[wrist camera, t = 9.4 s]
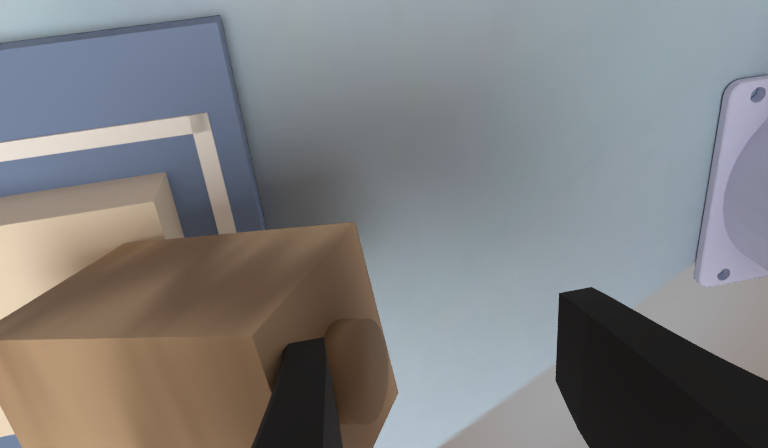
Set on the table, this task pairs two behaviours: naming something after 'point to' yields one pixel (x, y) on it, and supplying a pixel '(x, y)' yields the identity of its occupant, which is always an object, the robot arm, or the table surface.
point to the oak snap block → (194, 341)
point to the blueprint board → (115, 151)
